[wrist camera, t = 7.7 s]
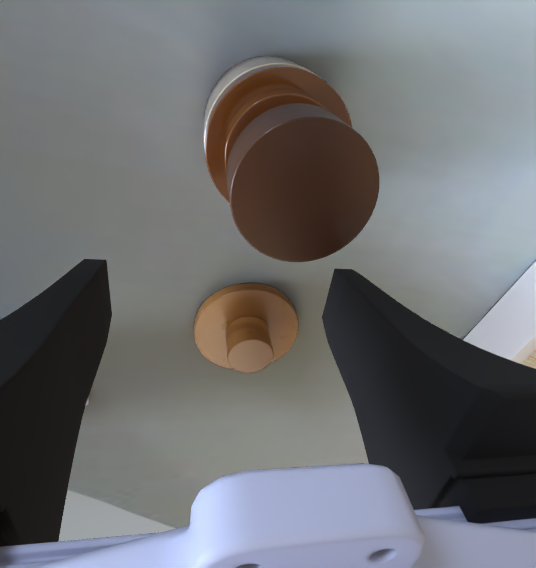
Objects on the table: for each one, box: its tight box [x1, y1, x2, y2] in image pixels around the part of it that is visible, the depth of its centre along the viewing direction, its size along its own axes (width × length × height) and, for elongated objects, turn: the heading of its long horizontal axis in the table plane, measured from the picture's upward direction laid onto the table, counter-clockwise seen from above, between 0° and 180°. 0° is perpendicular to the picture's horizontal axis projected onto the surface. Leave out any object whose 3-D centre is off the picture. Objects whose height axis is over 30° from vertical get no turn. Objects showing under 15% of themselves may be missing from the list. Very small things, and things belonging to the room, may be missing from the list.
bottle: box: [204, 56, 352, 203], centre depth 17 cm, size 6×6×7 cm
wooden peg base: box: [194, 283, 298, 373], centre depth 25 cm, size 7×7×3 cm
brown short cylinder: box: [226, 103, 379, 262], centre depth 13 cm, size 5×5×2 cm
